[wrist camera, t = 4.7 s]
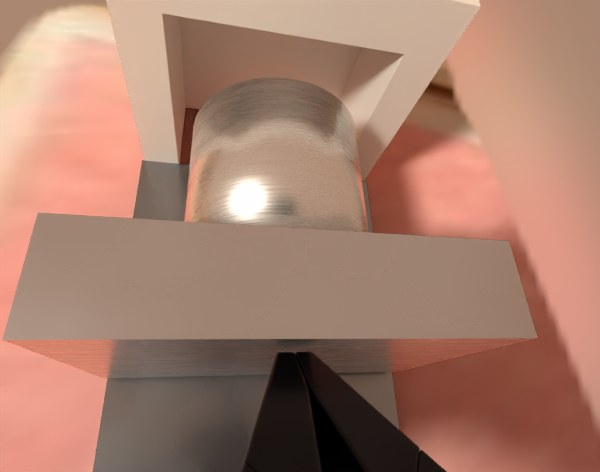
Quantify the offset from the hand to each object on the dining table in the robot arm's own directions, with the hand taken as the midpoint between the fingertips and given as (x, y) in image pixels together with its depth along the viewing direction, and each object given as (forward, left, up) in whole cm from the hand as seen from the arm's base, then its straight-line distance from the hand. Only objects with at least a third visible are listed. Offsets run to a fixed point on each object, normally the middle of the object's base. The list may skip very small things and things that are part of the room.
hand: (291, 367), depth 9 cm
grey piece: (+4, 0, -6) cm, 8 cm away
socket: (+12, 0, -7) cm, 14 cm away
